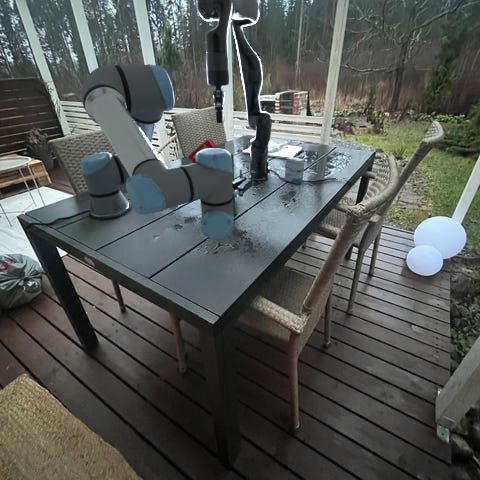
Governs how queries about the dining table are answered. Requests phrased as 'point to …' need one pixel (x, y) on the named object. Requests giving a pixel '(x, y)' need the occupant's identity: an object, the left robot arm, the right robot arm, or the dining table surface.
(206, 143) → the toy gun
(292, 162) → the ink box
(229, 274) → the dining table surface
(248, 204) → the dining table surface
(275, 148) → the relief map
